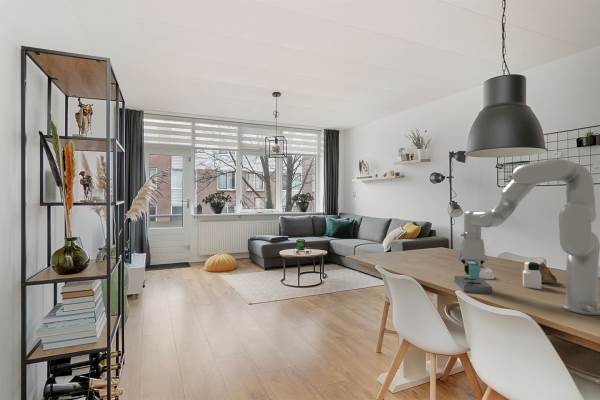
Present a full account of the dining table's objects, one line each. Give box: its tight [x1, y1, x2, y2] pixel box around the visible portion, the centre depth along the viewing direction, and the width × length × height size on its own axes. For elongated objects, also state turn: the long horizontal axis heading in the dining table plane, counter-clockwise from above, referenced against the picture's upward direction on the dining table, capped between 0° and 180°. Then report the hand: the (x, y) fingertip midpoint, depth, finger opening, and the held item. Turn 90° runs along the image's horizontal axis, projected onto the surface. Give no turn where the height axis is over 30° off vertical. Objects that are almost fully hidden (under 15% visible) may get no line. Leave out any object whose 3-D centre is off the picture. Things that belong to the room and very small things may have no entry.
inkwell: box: [457, 258, 495, 280], centre depth 186 cm, size 9×18×10 cm, turn 72°
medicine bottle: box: [522, 261, 542, 290], centre depth 165 cm, size 7×7×12 cm
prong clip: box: [464, 261, 481, 279], centre depth 164 cm, size 4×11×6 cm, turn 166°
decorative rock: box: [538, 261, 558, 284], centre depth 174 cm, size 12×6×11 cm, turn 84°
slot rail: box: [454, 275, 493, 294], centre depth 164 cm, size 12×20×3 cm, turn 167°
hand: (472, 273), depth 164 cm, fingers closed on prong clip, 4 cm apart
